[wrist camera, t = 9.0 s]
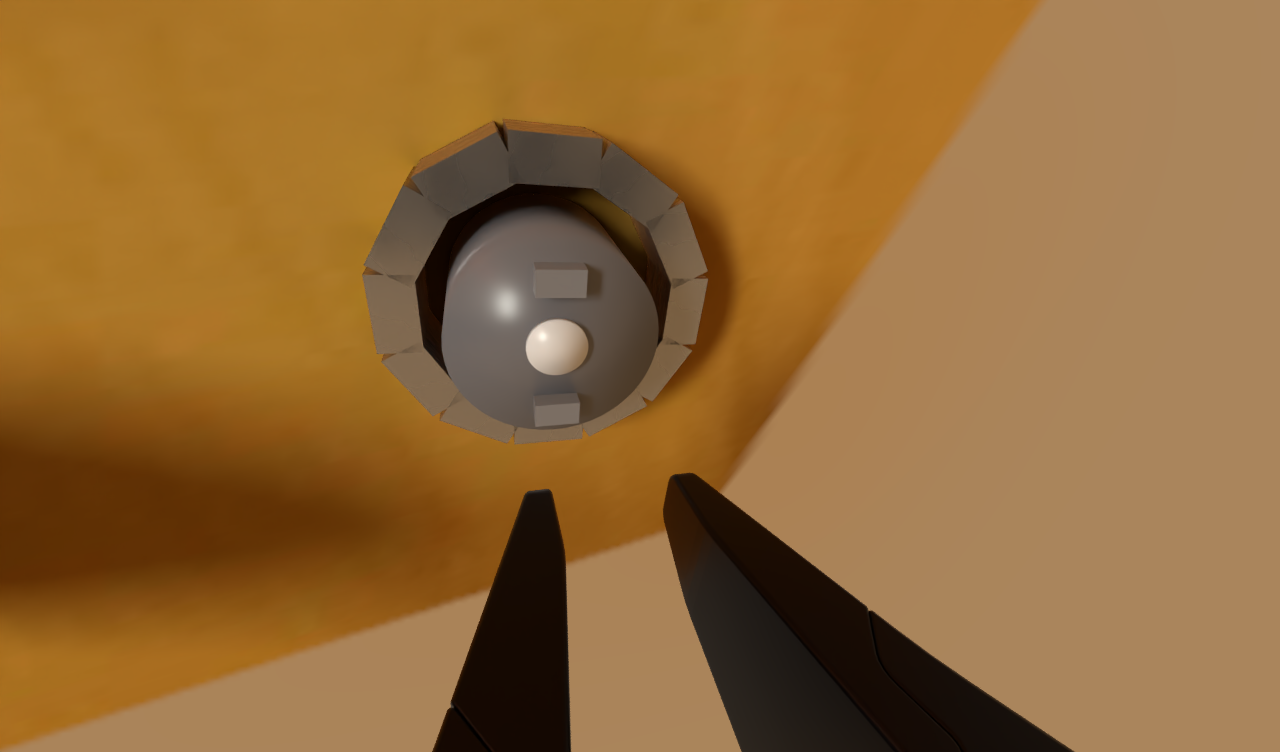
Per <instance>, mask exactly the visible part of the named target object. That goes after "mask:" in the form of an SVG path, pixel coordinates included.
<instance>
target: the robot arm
mask: <svg viewBox="0 0 1280 752" xmlns="http://www.w3.org/2000/svg"><path fill="white" fill-rule="evenodd" d="M663 517H664V523H665V527H666V530H667V534H668V538H669V542H670V546H671V550H672V554H673V557H674V561H675V565H676V569H677V573H678V577H679V581H680V584H681V588H682V592H683V596H684V599H685V603H686V605H687V608H688V611H689V614H690V617H691V620H692V622H693V625H694V628H695V630H696V632H697V635H698V638H699V641H700V643H701V646H702V649H703V651H704V654H705V657H706V659H707V662H708V664H709V667H710V669H711V672H712V675H713V677H714V680H715V683H716V686H717V688H718V691H719V693H720V696H721V699H722V701H723V704H724V707H725V709H726V712H727V714H728V717H729V720H730V722H731V725H732V728H733V730H734V733H735V736H736V738H737V741H738V744H739V746H740V749H741V751H742V752H1074V751H1072V750H1071V749H1070V748H1068V747H1067V746H1065V745H1064V744H1062V743H1060V742H1059V741H1057V740H1056V739H1055V738H1053V737H1052V736H1050V735H1049V734H1047V733H1046V732H1044V731H1043V730H1041V729H1040V728H1038V727H1037V726H1035V725H1034V724H1032V723H1031V722H1029V721H1028V720H1026V719H1025V718H1023V717H1022V716H1020V715H1019V714H1017V713H1016V712H1014V711H1013V710H1011V709H1010V708H1008V707H1007V706H1005V705H1004V704H1002V703H1001V702H999V701H998V700H996V699H995V698H993V697H992V696H990V695H989V694H987V693H986V692H984V691H983V690H981V689H980V688H978V687H977V686H975V685H974V684H972V683H971V682H969V681H968V680H967V679H965V678H964V677H962V676H961V675H959V674H958V673H957V672H955V671H954V670H952V669H951V668H949V667H948V666H946V665H945V664H944V663H942V662H941V661H939V660H938V659H936V658H935V657H933V656H932V655H931V654H929V653H928V652H926V651H925V650H924V649H922V648H921V647H920V646H918V645H917V644H916V643H914V642H913V641H912V640H910V639H909V638H908V637H906V636H905V635H903V634H902V633H901V632H899V631H898V630H897V629H896V628H894V627H893V626H892V625H890V624H889V623H888V622H886V621H885V620H884V619H882V618H881V617H880V616H879V615H877V614H876V613H875V612H873V611H868V608H867V606H865V605H864V604H863V603H862V602H860V601H859V600H858V599H856V598H855V597H854V596H853V595H851V594H850V593H849V592H847V591H846V590H845V589H843V588H842V587H841V586H840V585H838V584H837V583H836V582H834V581H833V580H832V579H831V578H829V577H828V576H827V575H825V574H824V573H822V572H821V571H820V570H819V569H818V568H816V567H815V566H814V565H812V564H811V563H810V562H808V561H807V560H806V559H805V558H803V557H802V556H801V555H799V554H798V553H797V552H795V551H794V550H793V549H792V548H790V547H789V546H788V545H786V544H785V543H784V542H783V541H781V540H780V539H779V538H777V537H776V536H775V535H773V534H772V533H771V532H770V531H768V530H767V529H766V528H764V527H763V526H762V525H761V524H759V523H758V522H757V521H755V520H754V519H753V518H751V517H750V516H749V515H748V514H746V513H745V512H744V511H742V510H741V509H740V508H739V507H737V506H736V505H735V504H733V503H732V502H731V501H729V500H728V499H727V498H725V497H724V496H723V495H722V494H720V493H719V492H718V491H717V490H715V489H714V488H713V487H711V486H710V485H709V484H708V483H706V482H705V481H704V480H702V479H701V478H700V477H698V476H697V475H696V474H693V473H684V474H675V475H672V476H671V477H670V479H669V482H668V487H667V492H666V497H665V502H664V507H663ZM570 735H571V733H570V697H569V661H568V625H567V591H566V560H565V549H564V544H563V539H562V534H561V530H560V525H559V521H558V517H557V512H556V508H555V503H554V499H553V494H552V492H551V491H550V490H549V489H544V490H535V491H528V492H527V493H526V494H525V495H524V497H523V500H522V503H521V506H520V509H519V512H518V514H517V517H516V520H515V523H514V526H513V528H512V531H511V534H510V537H509V540H508V542H507V545H506V548H505V551H504V554H503V556H502V559H501V562H500V565H499V568H498V570H497V573H496V576H495V579H494V582H493V584H492V587H491V590H490V593H489V596H488V599H487V602H486V604H485V607H484V610H483V613H482V615H481V618H480V621H479V624H478V627H477V630H476V632H475V635H474V638H473V641H472V643H471V646H470V649H469V652H468V655H467V657H466V661H465V663H464V666H463V669H462V671H461V674H460V677H459V680H458V683H457V686H456V688H455V691H454V694H453V697H452V700H451V708H449V709H448V710H447V713H446V715H445V718H444V721H443V724H442V726H441V729H440V732H439V735H438V738H437V740H436V743H435V746H434V748H433V751H432V752H571V736H570Z"/></svg>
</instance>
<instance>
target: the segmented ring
mask: <svg viewBox="0 0 1280 752" xmlns="http://www.w3.org/2000/svg"><path fill="white" fill-rule="evenodd" d="M516 183H519V184H534V185H549V186H564V187H579V188H592V189H594V190H595V191H597V192H598V193H599V194H601V195H602V196H604V197H605V198H607V199H608V200H609V201H611V202H612V203H614V204H615V205H616V206H618V207H619V208H621V209H622V210H623V211H625V212H626V213H628V214H629V215H630V217H631V219H632V222H633V224H634V226H635V229H636V231H637V233H638V236H639V238H640V240H641V243H642V245H643V247H644V250H645V252H646V254H647V257H648V260H647V268H646V276H645V284H646V286H647V288H648V290H649V292H650V294H651V296H652V298H653V301H654V304H655V306H656V311H657V316H658V327H659V332H658V343H657V347H656V352H655V355H654V358H653V361H652V363H651V365H650V367H649V369H648V371H647V373H646V375H645V377H644V378H643V380H642V381H641V382H640V384H639V385H638V386H637V388H636V389H635V390H634V391H633V392H632V393H631V394H630V395H629V396H628V397H627V398H626V399H625V400H624V401H623V402H622V403H620V404H619V405H618V406H616V407H615V408H614V409H612V410H610V411H609V412H607V413H605V414H604V415H602V416H600V417H598V418H595V419H593V420H591V421H588V422H586V423H583V424H580V425H576V426H572V427H568V428H561V429H550V430H537V429H527V428H521V427H516V426H512V425H509V424H506V423H503V422H500V421H498V420H496V419H493V418H491V417H490V416H488V415H486V414H484V413H483V412H481V411H480V410H478V409H477V408H476V407H475V406H473V405H472V404H471V403H470V402H469V401H468V400H467V399H466V398H465V397H464V396H463V395H462V394H461V393H460V391H459V390H458V389H457V387H456V386H455V385H454V383H453V381H452V379H451V377H450V375H449V373H448V371H447V368H446V365H445V362H444V358H443V353H442V338H441V336H442V325H441V323H440V322H439V321H438V320H437V318H436V317H435V316H434V315H433V313H432V312H431V311H430V307H429V299H428V290H427V281H426V273H425V263H426V261H427V259H428V257H429V255H430V253H431V251H432V249H433V248H434V246H435V244H436V242H437V240H438V238H439V236H440V235H441V233H442V231H443V229H444V227H445V225H446V223H447V222H448V220H449V219H450V218H452V217H454V216H456V215H458V214H460V213H462V212H463V211H465V210H467V209H469V208H471V207H473V206H475V205H477V204H479V203H480V202H482V201H484V200H486V199H488V198H490V197H492V196H494V195H496V194H498V193H499V192H501V191H503V190H505V189H507V188H509V187H511V186H513V185H515V184H516ZM677 196H678V194H677V193H676V192H674V191H673V190H672V189H670V188H669V187H668V186H667V185H665V184H664V183H663V182H662V181H660V180H659V179H658V178H656V177H655V176H654V175H653V174H651V173H650V172H649V171H648V170H646V169H645V168H644V167H643V166H641V165H640V164H639V163H637V162H636V161H635V160H634V159H632V158H631V157H630V156H629V155H627V154H626V153H625V152H624V151H622V150H621V149H620V148H618V147H617V146H616V145H615V144H613V143H612V142H610V141H609V140H607V139H605V138H604V137H602V136H600V135H599V134H597V133H596V132H594V131H593V132H591V131H589V130H588V129H586V128H585V127H575V126H565V125H556V124H546V123H537V122H527V121H517V120H508V119H503V137H502V136H501V134H500V132H499V130H498V128H497V126H496V125H495V123H494V121H492V122H490V123H488V124H486V125H485V126H483V127H481V128H479V129H477V130H475V131H473V132H471V133H469V134H468V135H466V136H464V137H462V138H460V139H458V140H456V141H454V142H452V143H451V144H449V145H447V146H445V147H443V148H441V149H439V150H437V151H435V152H434V153H432V154H430V155H428V156H426V157H424V158H422V159H420V161H419V163H418V165H417V167H413V169H412V170H411V172H410V174H409V176H408V177H407V179H406V181H405V183H404V184H403V186H402V188H401V190H400V192H399V194H398V196H397V198H396V200H395V203H394V205H393V207H392V209H391V211H390V213H389V215H388V217H387V219H386V221H385V223H384V225H383V227H382V229H381V231H380V233H379V235H378V237H377V239H376V241H375V243H374V245H373V247H372V249H371V251H370V253H369V255H368V257H367V259H366V261H365V263H364V266H366V269H365V271H364V273H363V281H364V286H365V291H366V297H367V302H368V308H369V313H370V318H371V324H372V329H373V334H374V340H375V345H376V350H377V354H384V355H383V358H382V361H381V362H382V363H383V364H384V365H385V366H386V367H387V368H388V369H389V370H390V371H391V372H392V374H393V375H394V376H395V377H396V378H397V379H398V380H399V381H400V382H401V383H402V384H403V385H404V386H405V387H406V388H407V389H408V390H409V391H410V392H411V394H412V395H413V396H414V397H415V398H416V399H417V400H418V401H419V402H420V403H421V404H422V405H423V406H424V407H425V408H426V409H427V410H428V411H429V412H430V414H431V415H432V416H434V415H436V414H438V413H440V412H441V415H440V421H443V422H446V423H449V424H452V425H455V426H458V427H460V428H463V429H466V430H469V431H472V432H475V433H478V434H481V435H484V436H487V437H490V438H493V439H495V440H498V441H501V442H504V443H508V441H509V440H510V438H511V437H512V435H513V434H514V442H515V444H525V443H536V442H548V441H559V440H571V439H582V431H583V428H584V430H585V431H586V433H587V434H588V435H589V436H591V435H593V434H595V433H597V432H598V431H600V430H602V429H604V428H606V427H608V426H610V425H612V424H614V423H616V422H617V421H619V420H621V419H623V418H625V417H627V416H629V415H631V414H633V413H635V412H636V411H638V410H640V409H642V408H644V407H646V404H645V402H644V399H643V397H644V398H646V399H648V400H651V401H653V400H654V399H655V397H656V396H657V395H658V394H659V392H660V391H661V390H662V389H663V387H664V386H665V385H666V383H667V382H668V381H669V380H670V378H671V377H672V376H673V375H674V373H675V372H676V371H677V370H678V368H679V367H680V366H681V364H682V363H683V362H684V361H685V359H686V358H687V357H688V356H689V354H690V353H691V352H692V350H691V349H690V347H689V346H688V344H696V338H697V333H698V328H699V323H700V318H701V313H702V308H703V303H704V298H705V293H706V288H707V283H708V278H707V277H706V276H705V275H704V274H703V273H705V272H707V271H708V270H707V267H706V265H705V262H704V259H703V256H702V253H701V250H700V247H699V245H698V242H697V239H696V236H695V233H694V230H693V227H692V225H691V222H690V219H689V216H688V213H687V210H686V207H685V205H684V202H683V201H681V200H680V199H678V198H677Z"/></svg>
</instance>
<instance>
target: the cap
mask: <svg viewBox="0 0 1280 752" xmlns="http://www.w3.org/2000/svg"><path fill="white" fill-rule="evenodd" d="M658 332H659V327H658V316H657V311H656V306H655V304H654V301H653V298H652V296H651V294H650V292H649V290H648V288H647V286H646V284H645V283H644V282H643V280H642V279H641V278H640V276H639V275H638V274H637V272H636V271H635V270H634V268H633V267H632V266H631V264H630V263H629V261H628V260H627V259H626V257H625V256H624V255H623V253H622V252H621V251H620V249H619V248H618V247H617V245H616V244H615V243H614V241H613V240H612V239H611V237H610V236H609V235H608V233H607V232H606V231H605V229H604V228H603V227H602V225H601V224H600V223H599V222H598V221H597V220H596V219H595V218H594V217H593V216H592V215H591V214H590V213H588V212H587V211H586V210H584V209H583V208H581V207H580V206H578V205H576V204H574V203H573V202H570V201H568V200H565V199H563V198H559V197H556V196H552V195H545V194H522V195H515V196H511V197H508V198H504V199H501V200H499V201H497V202H494V203H492V204H490V205H489V206H487V207H486V208H484V209H482V210H481V211H480V212H478V213H477V214H476V215H475V216H474V217H473V218H472V219H471V220H470V221H469V222H468V223H467V224H466V225H465V226H464V228H463V229H462V231H461V232H460V234H459V236H458V237H457V239H456V242H455V244H454V246H453V249H452V253H451V256H450V261H449V270H448V279H447V288H446V298H445V307H444V317H443V326H442V336H441V338H442V353H443V358H444V362H445V365H446V368H447V371H448V373H449V375H450V377H451V379H452V381H453V383H454V385H455V386H456V387H457V389H458V390H459V391H460V393H461V394H462V395H463V396H464V397H465V398H466V399H467V400H468V401H469V402H470V403H471V404H472V405H473V406H475V407H476V408H477V409H478V410H480V411H481V412H483V413H484V414H486V415H488V416H490V417H491V418H493V419H496V420H498V421H500V422H503V423H506V424H509V425H512V426H516V427H521V428H527V429H537V430H550V429H561V428H568V427H572V426H576V425H580V424H583V423H586V422H588V421H591V420H593V419H595V418H598V417H600V416H602V415H604V414H605V413H607V412H609V411H610V410H612V409H614V408H615V407H616V406H618V405H619V404H620V403H622V402H623V401H624V400H625V399H626V398H627V397H628V396H629V395H630V394H631V393H632V392H633V391H634V390H635V389H636V388H637V386H638V385H639V384H640V382H641V381H642V380H643V378H644V377H645V375H646V373H647V371H648V369H649V367H650V365H651V363H652V361H653V358H654V355H655V352H656V347H657V343H658Z"/></svg>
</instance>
